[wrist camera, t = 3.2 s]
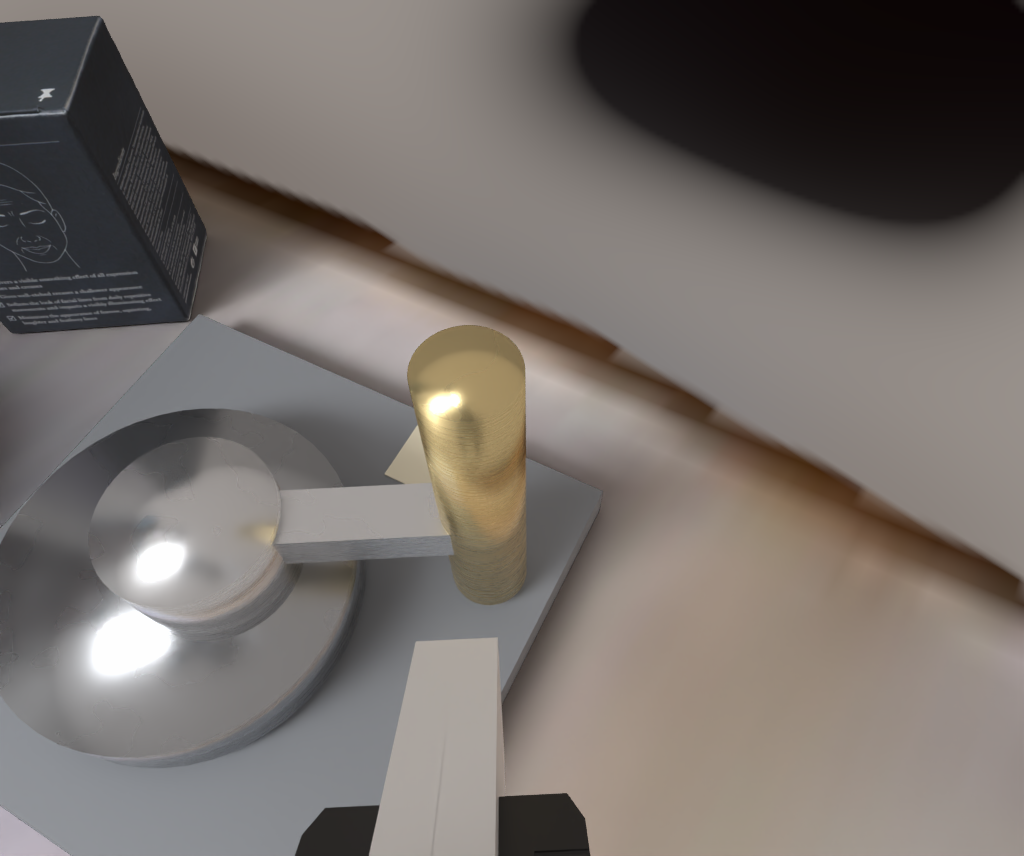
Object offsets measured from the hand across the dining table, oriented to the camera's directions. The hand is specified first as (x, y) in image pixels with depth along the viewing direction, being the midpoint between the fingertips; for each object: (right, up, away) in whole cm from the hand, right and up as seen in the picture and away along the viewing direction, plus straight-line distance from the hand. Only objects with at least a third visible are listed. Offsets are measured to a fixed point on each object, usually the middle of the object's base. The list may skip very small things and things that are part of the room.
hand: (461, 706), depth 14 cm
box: (-17, +12, +21) cm, 29 cm away
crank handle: (-7, 0, +11) cm, 13 cm away
